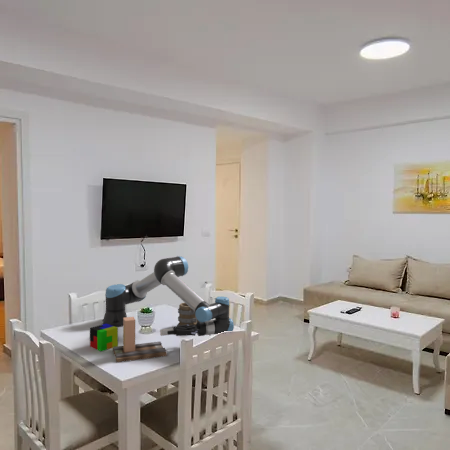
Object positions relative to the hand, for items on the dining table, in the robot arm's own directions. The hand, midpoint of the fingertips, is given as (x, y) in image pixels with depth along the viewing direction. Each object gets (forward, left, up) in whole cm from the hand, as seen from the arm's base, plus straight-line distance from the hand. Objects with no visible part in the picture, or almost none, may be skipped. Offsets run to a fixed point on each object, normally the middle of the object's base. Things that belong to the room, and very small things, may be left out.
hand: (160, 332), depth 209 cm
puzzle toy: (-29, -10, -10) cm, 32 cm away
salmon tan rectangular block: (-10, -12, -8) cm, 17 cm away
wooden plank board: (-7, -8, -9) cm, 14 cm away
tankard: (-6, +38, -10) cm, 40 cm away
